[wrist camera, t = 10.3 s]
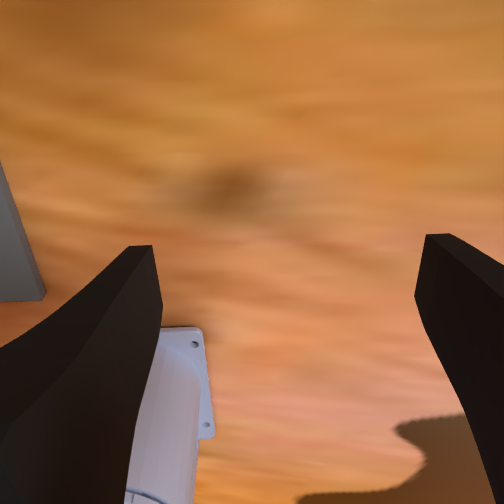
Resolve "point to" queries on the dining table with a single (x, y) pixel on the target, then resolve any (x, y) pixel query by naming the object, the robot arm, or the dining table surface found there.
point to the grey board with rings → (16, 254)
